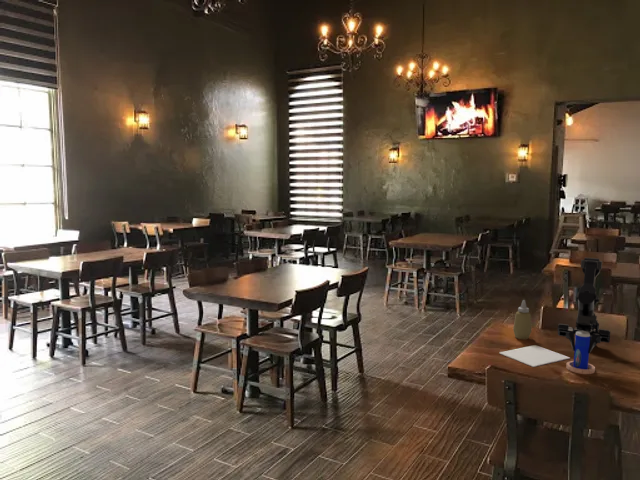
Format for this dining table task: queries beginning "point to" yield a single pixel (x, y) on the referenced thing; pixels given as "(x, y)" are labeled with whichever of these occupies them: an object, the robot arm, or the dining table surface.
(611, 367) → the dining table surface
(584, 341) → the beverage can
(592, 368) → the terracotta ring
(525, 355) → the grey mat
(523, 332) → the squeeze bottle
